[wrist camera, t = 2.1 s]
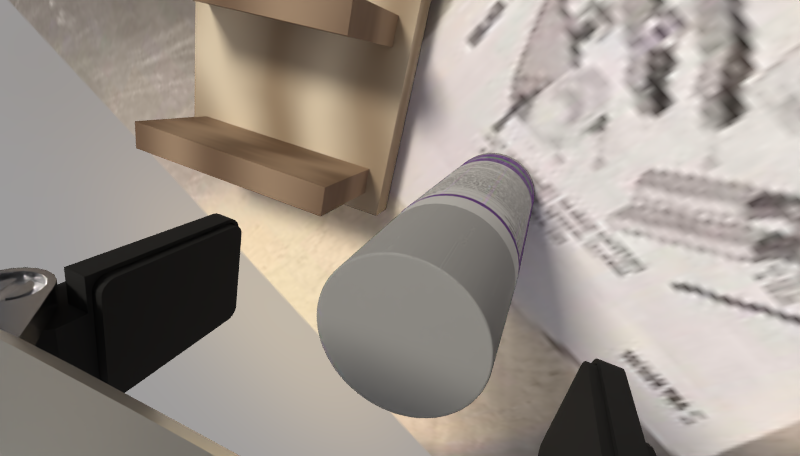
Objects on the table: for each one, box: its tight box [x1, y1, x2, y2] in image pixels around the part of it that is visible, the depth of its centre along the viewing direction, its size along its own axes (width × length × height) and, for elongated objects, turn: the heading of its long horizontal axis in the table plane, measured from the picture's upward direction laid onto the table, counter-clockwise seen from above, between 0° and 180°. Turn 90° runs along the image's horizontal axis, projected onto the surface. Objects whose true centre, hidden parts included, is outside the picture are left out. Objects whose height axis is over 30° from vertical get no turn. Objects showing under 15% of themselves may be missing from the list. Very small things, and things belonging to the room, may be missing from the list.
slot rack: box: [135, 0, 431, 216], centre depth 20 cm, size 14×20×6 cm
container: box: [317, 153, 534, 418], centre depth 16 cm, size 5×5×15 cm
